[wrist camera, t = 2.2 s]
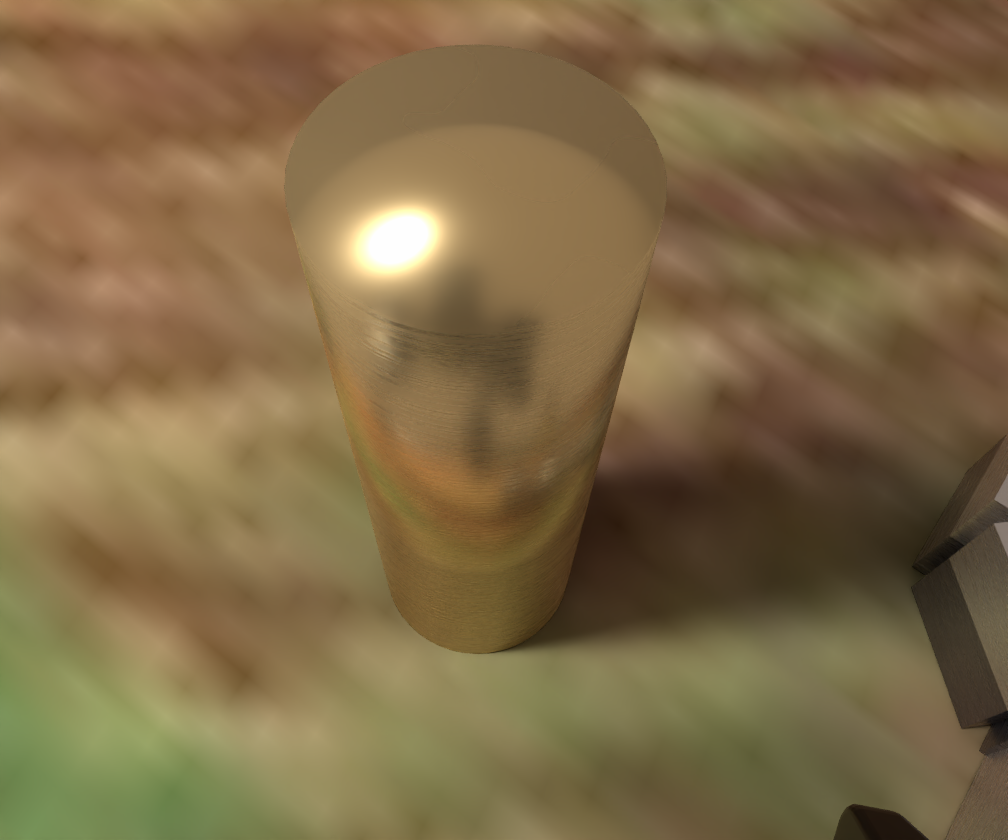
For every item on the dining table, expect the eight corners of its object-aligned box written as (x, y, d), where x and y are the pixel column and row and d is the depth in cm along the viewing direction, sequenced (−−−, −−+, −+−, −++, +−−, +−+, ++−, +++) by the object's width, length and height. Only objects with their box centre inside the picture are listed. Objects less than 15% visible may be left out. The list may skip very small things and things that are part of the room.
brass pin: (582, 641, 21) (706, 310, 10) (393, 664, 21) (286, 348, 9) (553, 471, 23) (626, 34, 12) (381, 489, 23) (282, 56, 11)
